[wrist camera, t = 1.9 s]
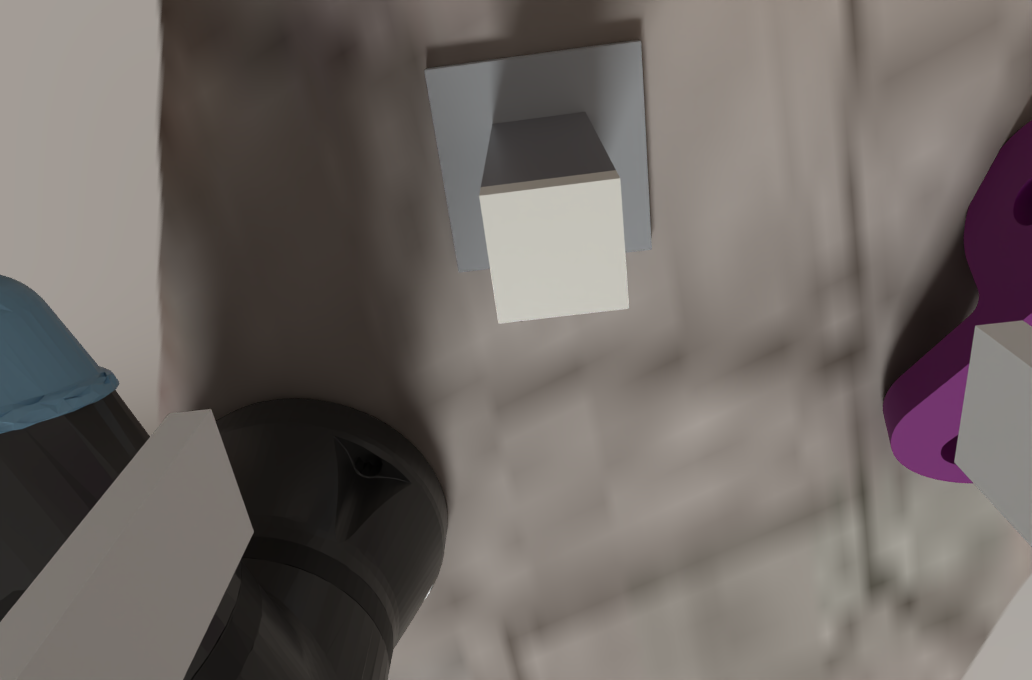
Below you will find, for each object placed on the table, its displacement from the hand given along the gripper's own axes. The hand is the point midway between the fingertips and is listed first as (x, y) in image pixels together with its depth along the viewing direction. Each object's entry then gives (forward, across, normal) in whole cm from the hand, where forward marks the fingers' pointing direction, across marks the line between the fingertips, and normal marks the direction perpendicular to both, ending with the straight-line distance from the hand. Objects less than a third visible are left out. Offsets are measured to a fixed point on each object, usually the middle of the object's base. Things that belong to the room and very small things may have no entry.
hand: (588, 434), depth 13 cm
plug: (+22, 0, 0) cm, 22 cm away
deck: (+22, 0, 0) cm, 23 cm away
